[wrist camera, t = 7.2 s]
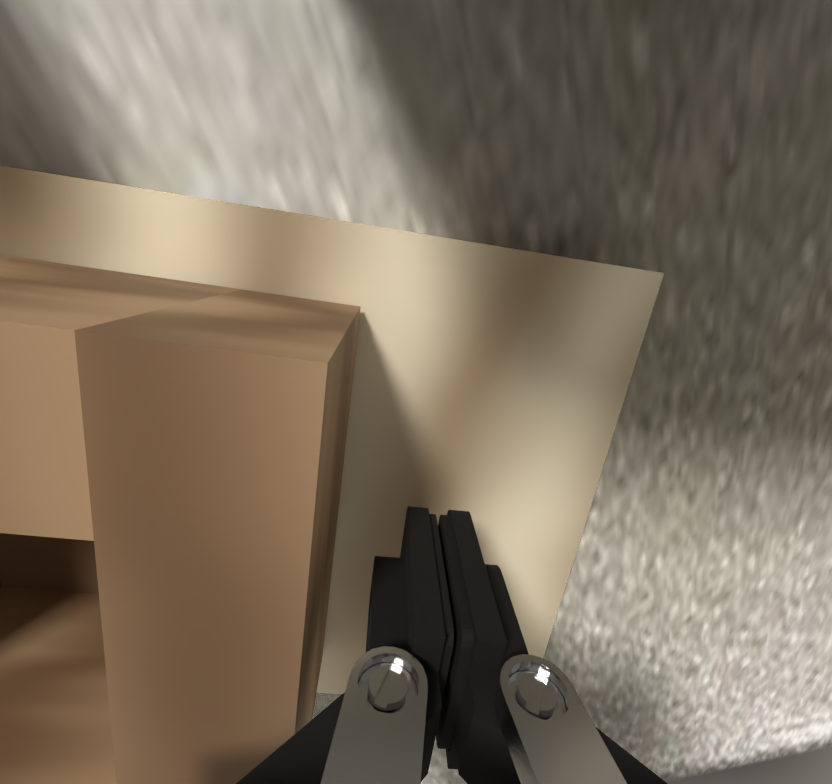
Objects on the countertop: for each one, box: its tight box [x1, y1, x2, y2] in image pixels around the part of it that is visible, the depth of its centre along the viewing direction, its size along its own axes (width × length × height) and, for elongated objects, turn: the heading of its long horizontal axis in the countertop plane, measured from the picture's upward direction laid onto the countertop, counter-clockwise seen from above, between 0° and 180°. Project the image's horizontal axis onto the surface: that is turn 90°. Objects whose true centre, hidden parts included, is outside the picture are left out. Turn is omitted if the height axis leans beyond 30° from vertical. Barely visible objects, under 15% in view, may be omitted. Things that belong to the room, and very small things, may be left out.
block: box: [0, 255, 361, 784], centre depth 9 cm, size 12×12×6 cm
